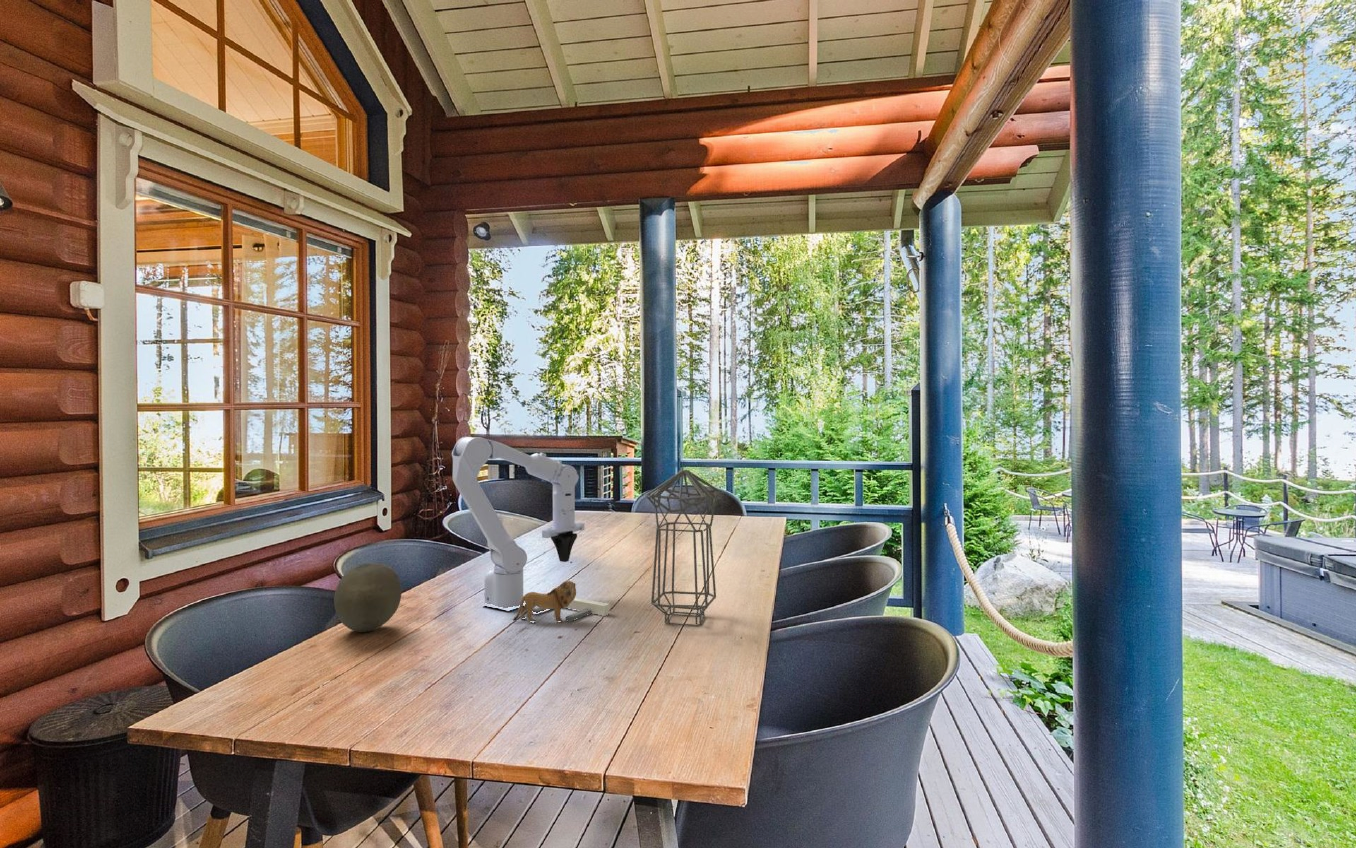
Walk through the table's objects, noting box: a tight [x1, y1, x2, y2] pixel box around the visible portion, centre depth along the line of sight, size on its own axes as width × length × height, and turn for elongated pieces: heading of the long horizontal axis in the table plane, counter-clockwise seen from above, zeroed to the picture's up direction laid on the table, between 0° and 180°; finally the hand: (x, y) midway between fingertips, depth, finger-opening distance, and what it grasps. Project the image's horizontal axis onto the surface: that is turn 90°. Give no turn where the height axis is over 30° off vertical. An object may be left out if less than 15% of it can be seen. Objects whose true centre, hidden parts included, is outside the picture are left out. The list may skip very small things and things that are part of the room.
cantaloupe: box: [333, 562, 403, 633], centre depth 148 cm, size 14×14×15 cm
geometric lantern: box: [645, 469, 722, 627], centre depth 155 cm, size 16×16×35 cm
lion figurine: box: [512, 580, 577, 622], centre depth 155 cm, size 15×5×9 cm, turn 103°
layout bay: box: [533, 592, 611, 622], centre depth 161 cm, size 20×10×2 cm, turn 58°
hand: (564, 561), depth 176 cm, fingers closed
